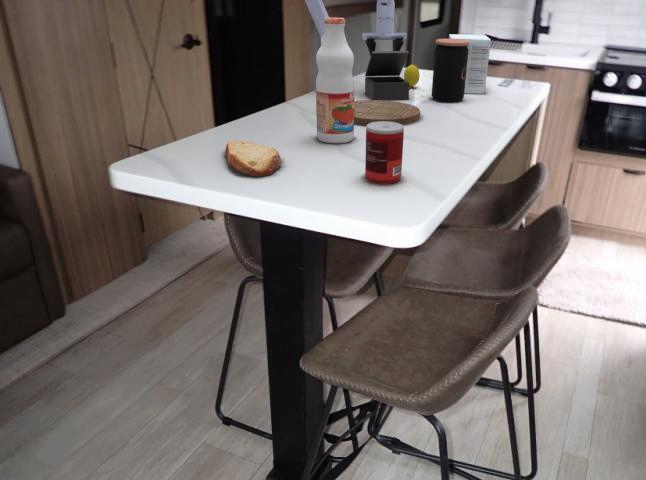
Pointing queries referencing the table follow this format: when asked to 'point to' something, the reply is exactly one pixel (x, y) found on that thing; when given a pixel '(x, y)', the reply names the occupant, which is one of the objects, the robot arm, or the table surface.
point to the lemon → (412, 75)
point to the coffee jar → (450, 70)
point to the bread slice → (252, 158)
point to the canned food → (384, 152)
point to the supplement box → (476, 61)
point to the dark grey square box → (387, 88)
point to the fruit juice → (335, 85)
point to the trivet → (384, 112)
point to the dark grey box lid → (386, 63)
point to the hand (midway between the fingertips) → (383, 63)
